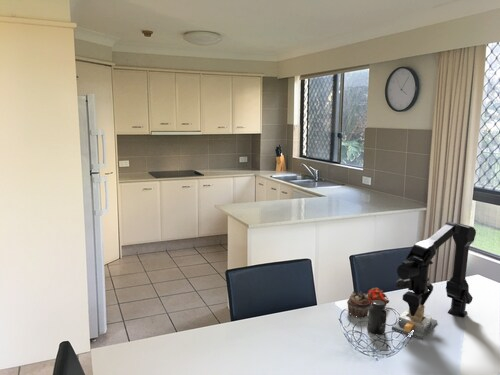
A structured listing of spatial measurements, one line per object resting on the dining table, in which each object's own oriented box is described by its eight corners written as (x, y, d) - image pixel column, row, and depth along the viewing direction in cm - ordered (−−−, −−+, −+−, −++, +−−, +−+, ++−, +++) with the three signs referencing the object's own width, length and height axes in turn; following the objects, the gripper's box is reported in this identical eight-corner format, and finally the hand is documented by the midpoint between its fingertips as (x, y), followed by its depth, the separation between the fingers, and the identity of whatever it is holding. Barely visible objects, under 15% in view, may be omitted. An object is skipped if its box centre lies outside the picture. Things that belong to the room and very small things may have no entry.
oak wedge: (410, 320, 176) (412, 302, 174) (422, 324, 173) (424, 305, 171) (407, 322, 173) (409, 304, 172) (420, 327, 170) (422, 308, 169)
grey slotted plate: (407, 313, 184) (408, 304, 183) (436, 322, 176) (437, 313, 176) (391, 328, 170) (392, 319, 169) (422, 339, 163) (423, 329, 162)
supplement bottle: (386, 336, 164) (388, 307, 162) (367, 334, 165) (370, 305, 163) (384, 328, 171) (386, 299, 169) (366, 325, 172) (368, 297, 170)
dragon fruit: (369, 302, 197) (384, 317, 186) (357, 294, 194) (372, 309, 183) (381, 288, 197) (396, 303, 186) (370, 280, 193) (385, 294, 182)
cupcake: (374, 315, 181) (376, 293, 179) (358, 321, 176) (360, 298, 174) (357, 306, 189) (358, 285, 187) (341, 311, 183) (343, 290, 182)
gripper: (408, 264, 182) (404, 298, 184) (391, 276, 167) (387, 313, 170) (435, 271, 175) (431, 306, 177) (420, 284, 160) (416, 322, 163)
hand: (416, 312), depth 172 cm, fingers open, 9 cm apart
